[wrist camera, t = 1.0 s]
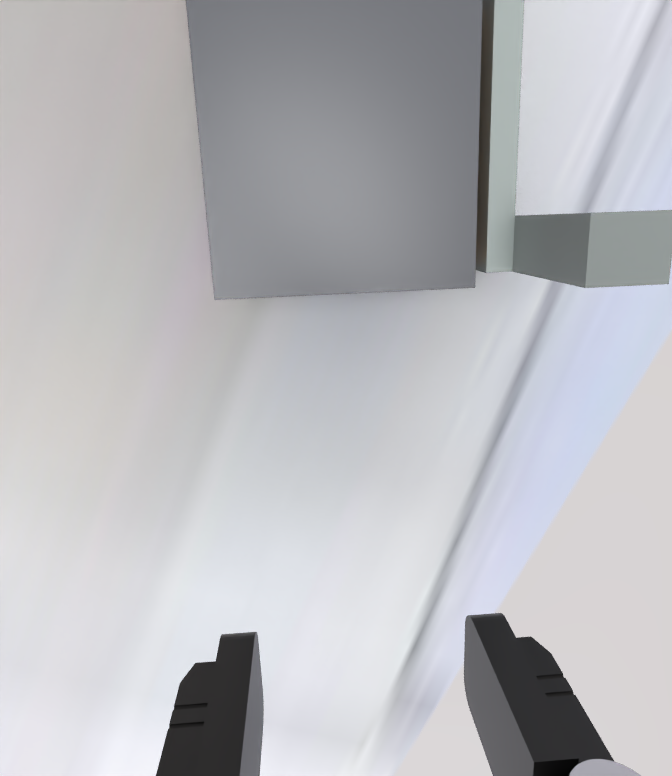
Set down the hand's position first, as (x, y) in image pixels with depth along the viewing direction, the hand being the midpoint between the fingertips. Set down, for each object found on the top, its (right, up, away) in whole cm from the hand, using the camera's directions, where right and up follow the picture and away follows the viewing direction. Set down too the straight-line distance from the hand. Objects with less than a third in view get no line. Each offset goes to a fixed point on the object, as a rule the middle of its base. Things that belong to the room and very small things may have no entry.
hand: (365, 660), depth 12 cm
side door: (+6, +17, +17) cm, 25 cm away
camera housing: (-1, +22, +16) cm, 28 cm away
